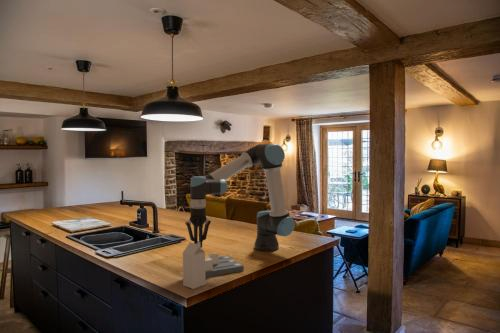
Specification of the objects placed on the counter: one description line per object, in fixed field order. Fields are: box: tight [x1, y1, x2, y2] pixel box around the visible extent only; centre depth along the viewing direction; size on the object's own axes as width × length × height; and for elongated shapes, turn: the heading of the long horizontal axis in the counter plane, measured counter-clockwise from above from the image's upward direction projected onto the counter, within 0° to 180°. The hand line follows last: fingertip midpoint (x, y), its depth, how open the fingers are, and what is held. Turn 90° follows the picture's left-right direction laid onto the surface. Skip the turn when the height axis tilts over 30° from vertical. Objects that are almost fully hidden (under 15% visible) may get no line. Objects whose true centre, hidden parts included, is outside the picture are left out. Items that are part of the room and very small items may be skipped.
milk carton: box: [182, 241, 206, 290], centre depth 158 cm, size 7×7×19 cm
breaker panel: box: [205, 254, 245, 278], centre depth 181 cm, size 24×20×8 cm
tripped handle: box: [208, 251, 220, 265], centre depth 180 cm, size 4×4×5 cm
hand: (198, 254), depth 177 cm, fingers closed
